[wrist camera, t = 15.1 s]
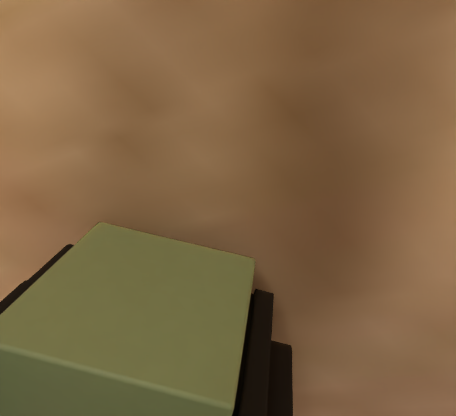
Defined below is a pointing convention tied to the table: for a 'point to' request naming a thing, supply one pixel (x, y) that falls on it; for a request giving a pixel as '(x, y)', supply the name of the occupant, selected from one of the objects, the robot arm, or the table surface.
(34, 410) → the block
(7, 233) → the table surface
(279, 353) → the robot arm
